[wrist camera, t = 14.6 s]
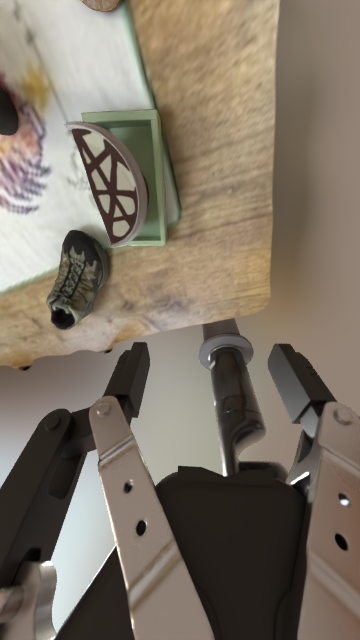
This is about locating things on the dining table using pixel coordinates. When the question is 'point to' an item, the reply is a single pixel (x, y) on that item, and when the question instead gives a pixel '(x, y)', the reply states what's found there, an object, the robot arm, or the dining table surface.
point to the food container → (113, 181)
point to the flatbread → (101, 4)
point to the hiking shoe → (77, 279)
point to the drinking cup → (7, 115)
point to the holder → (141, 163)
